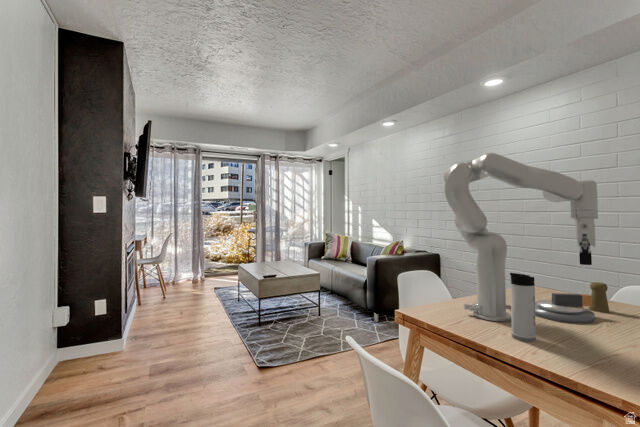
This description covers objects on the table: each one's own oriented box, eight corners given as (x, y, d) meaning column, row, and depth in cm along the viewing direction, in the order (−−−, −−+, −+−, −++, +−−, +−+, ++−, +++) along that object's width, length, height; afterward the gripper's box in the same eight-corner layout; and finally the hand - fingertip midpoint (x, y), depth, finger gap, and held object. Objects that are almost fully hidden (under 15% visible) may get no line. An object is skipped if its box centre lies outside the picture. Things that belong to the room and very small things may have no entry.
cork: (613, 313, 120) (613, 284, 120) (595, 312, 121) (594, 283, 121) (602, 308, 126) (602, 281, 126) (585, 307, 127) (585, 280, 127)
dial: (549, 313, 113) (548, 298, 113) (530, 302, 127) (530, 289, 127) (602, 315, 110) (602, 299, 110) (577, 304, 124) (577, 290, 124)
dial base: (544, 321, 111) (544, 314, 111) (519, 306, 131) (519, 299, 131) (609, 324, 107) (609, 317, 107) (573, 308, 127) (573, 301, 127)
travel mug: (506, 334, 100) (505, 271, 100) (527, 334, 100) (526, 271, 100) (518, 342, 94) (516, 275, 94) (540, 342, 93) (539, 275, 94)
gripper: (598, 215, 104) (600, 267, 103) (597, 214, 117) (598, 261, 117) (569, 215, 109) (571, 265, 108) (571, 215, 122) (573, 259, 122)
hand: (585, 262), depth 112 cm, fingers open, 8 cm apart
